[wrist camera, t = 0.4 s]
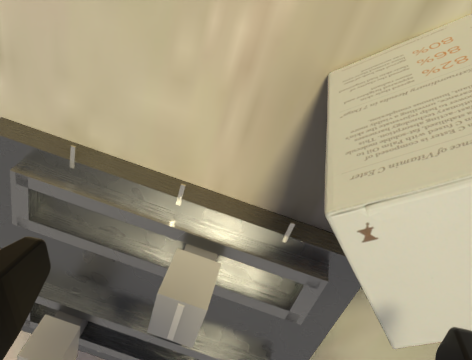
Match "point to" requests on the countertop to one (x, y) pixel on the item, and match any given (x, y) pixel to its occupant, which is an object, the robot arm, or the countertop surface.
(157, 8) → the countertop surface
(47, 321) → the block
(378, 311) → the small box
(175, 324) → the fader cap grey
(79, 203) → the panel
